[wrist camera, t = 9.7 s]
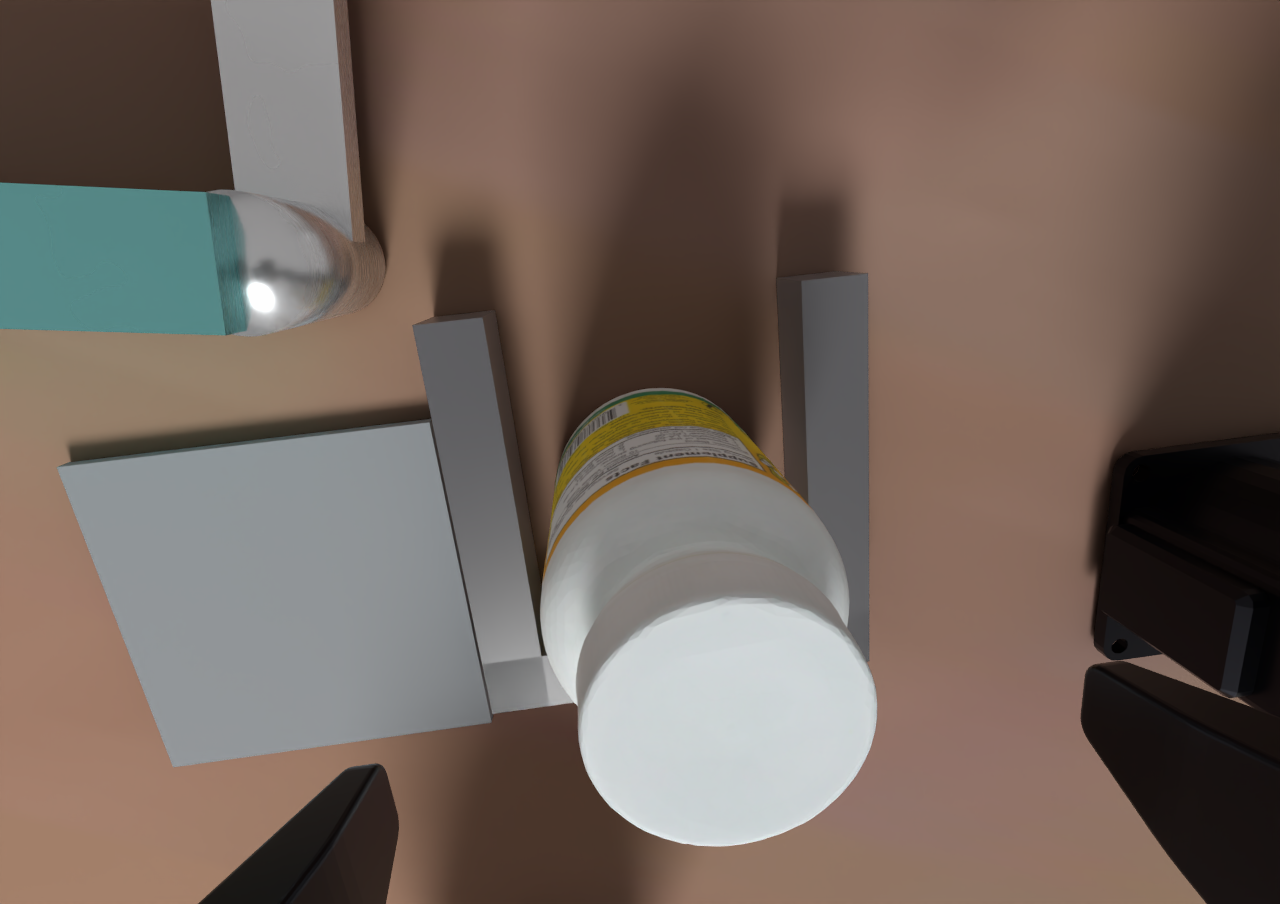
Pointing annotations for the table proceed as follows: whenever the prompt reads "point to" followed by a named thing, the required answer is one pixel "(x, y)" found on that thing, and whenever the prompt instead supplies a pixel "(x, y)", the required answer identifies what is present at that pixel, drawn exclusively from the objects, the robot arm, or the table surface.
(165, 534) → the mat
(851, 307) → the socket block
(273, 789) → the table surface
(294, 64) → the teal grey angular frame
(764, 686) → the supplement bottle
